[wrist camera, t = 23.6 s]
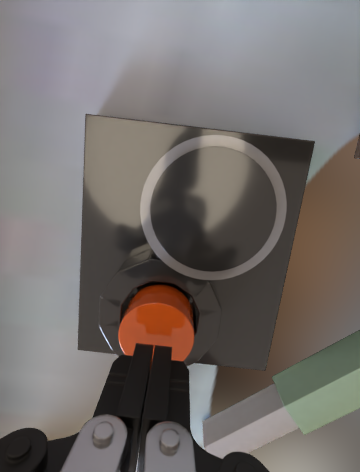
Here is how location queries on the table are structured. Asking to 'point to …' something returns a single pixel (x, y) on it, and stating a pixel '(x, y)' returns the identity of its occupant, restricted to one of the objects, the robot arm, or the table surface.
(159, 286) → the button
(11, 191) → the table surface
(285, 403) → the green and grey stick
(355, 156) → the stand
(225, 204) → the burner ring
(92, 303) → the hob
